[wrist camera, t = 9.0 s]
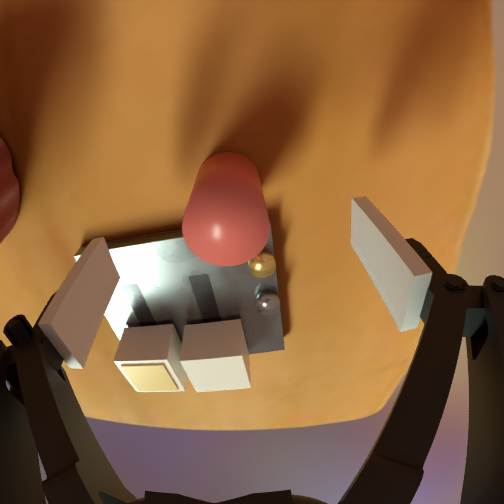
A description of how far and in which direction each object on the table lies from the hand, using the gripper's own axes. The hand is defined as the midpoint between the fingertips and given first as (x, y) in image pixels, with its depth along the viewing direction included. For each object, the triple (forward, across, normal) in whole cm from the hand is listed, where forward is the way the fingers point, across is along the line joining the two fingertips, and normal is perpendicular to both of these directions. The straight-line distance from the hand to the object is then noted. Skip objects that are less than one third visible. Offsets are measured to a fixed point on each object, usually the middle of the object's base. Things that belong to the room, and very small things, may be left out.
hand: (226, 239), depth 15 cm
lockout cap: (+7, 0, +1) cm, 7 cm away
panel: (+7, -5, -9) cm, 13 cm away
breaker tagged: (+6, -9, -13) cm, 17 cm away
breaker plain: (+6, -3, -13) cm, 15 cm away
